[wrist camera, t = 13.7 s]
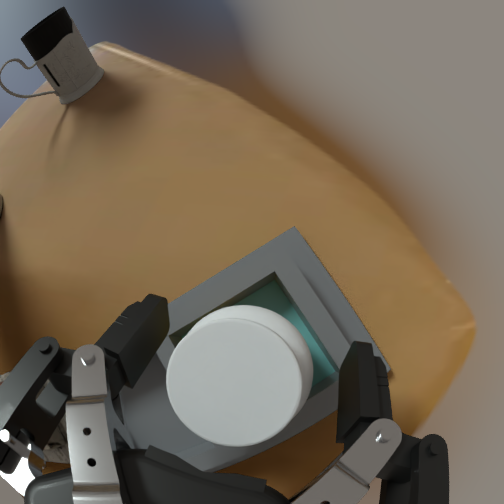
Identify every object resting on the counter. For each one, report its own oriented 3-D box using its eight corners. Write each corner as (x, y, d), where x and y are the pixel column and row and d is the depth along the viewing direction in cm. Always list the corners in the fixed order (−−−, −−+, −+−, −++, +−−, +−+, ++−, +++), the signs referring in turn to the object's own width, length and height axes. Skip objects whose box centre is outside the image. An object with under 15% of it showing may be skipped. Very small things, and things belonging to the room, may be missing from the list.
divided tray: (137, 489, 14) (119, 505, 11) (67, 369, 17) (42, 369, 14) (386, 368, 16) (406, 372, 13) (293, 230, 19) (296, 210, 16)
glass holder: (113, 68, 30) (77, -1, 16) (48, 134, 27) (-8, 69, 13) (88, 67, 32) (55, 10, 18) (32, 126, 29) (-15, 72, 15)
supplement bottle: (315, 346, 16) (364, 354, 7) (267, 414, 15) (258, 492, 6) (244, 301, 17) (207, 257, 8) (197, 368, 16) (116, 394, 7)
